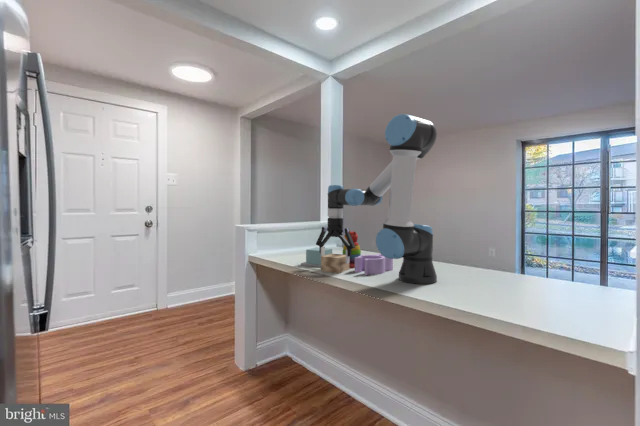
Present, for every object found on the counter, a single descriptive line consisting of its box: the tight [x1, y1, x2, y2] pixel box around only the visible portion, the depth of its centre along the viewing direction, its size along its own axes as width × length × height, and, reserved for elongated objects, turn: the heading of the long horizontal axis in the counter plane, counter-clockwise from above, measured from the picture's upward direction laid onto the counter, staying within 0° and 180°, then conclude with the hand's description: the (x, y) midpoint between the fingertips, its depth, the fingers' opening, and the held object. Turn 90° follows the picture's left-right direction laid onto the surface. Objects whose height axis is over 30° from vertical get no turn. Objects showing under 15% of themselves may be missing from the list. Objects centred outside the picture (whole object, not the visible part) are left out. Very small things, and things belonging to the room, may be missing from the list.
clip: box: [354, 253, 394, 276], centre depth 150 cm, size 20×12×7 cm, turn 127°
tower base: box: [300, 246, 333, 269], centre depth 166 cm, size 14×14×8 cm
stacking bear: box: [342, 230, 362, 269], centre depth 162 cm, size 11×10×18 cm
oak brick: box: [320, 253, 350, 274], centre depth 152 cm, size 10×10×7 cm
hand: (334, 261), depth 152 cm, fingers open, 13 cm apart
